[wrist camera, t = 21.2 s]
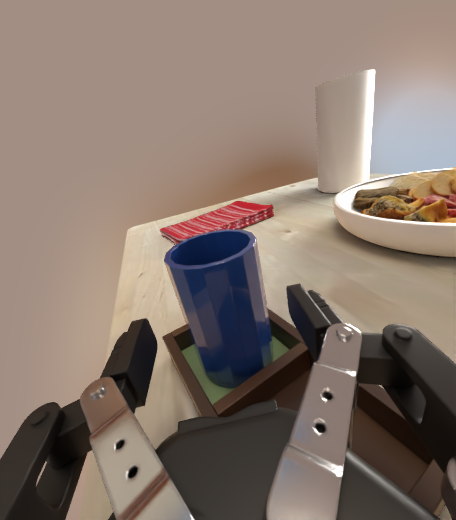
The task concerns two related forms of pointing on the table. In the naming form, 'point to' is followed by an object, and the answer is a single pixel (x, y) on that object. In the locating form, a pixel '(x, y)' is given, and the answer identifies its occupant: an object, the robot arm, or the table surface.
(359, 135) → the cylinder vase
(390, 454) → the holder
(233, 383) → the cup
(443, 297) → the table surface
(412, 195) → the bowl
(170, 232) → the dish towel
